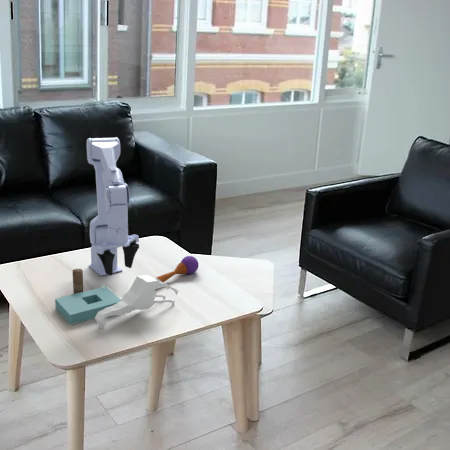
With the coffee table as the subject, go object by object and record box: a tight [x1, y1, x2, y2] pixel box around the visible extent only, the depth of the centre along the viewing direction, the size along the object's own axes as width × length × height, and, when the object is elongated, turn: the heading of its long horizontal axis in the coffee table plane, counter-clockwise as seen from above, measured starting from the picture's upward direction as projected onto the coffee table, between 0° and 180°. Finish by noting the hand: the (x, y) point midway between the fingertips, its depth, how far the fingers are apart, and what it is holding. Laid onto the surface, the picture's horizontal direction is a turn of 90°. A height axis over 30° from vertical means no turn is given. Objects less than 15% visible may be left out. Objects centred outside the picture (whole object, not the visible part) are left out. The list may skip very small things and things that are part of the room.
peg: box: [72, 268, 84, 295], centre depth 191 cm, size 3×3×8 cm
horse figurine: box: [94, 274, 179, 330], centre depth 182 cm, size 5×16×25 cm
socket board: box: [54, 286, 122, 325], centre depth 184 cm, size 11×16×3 cm
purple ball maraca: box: [155, 255, 199, 283], centre depth 205 cm, size 6×6×20 cm
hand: (118, 270), depth 185 cm, fingers open, 7 cm apart
